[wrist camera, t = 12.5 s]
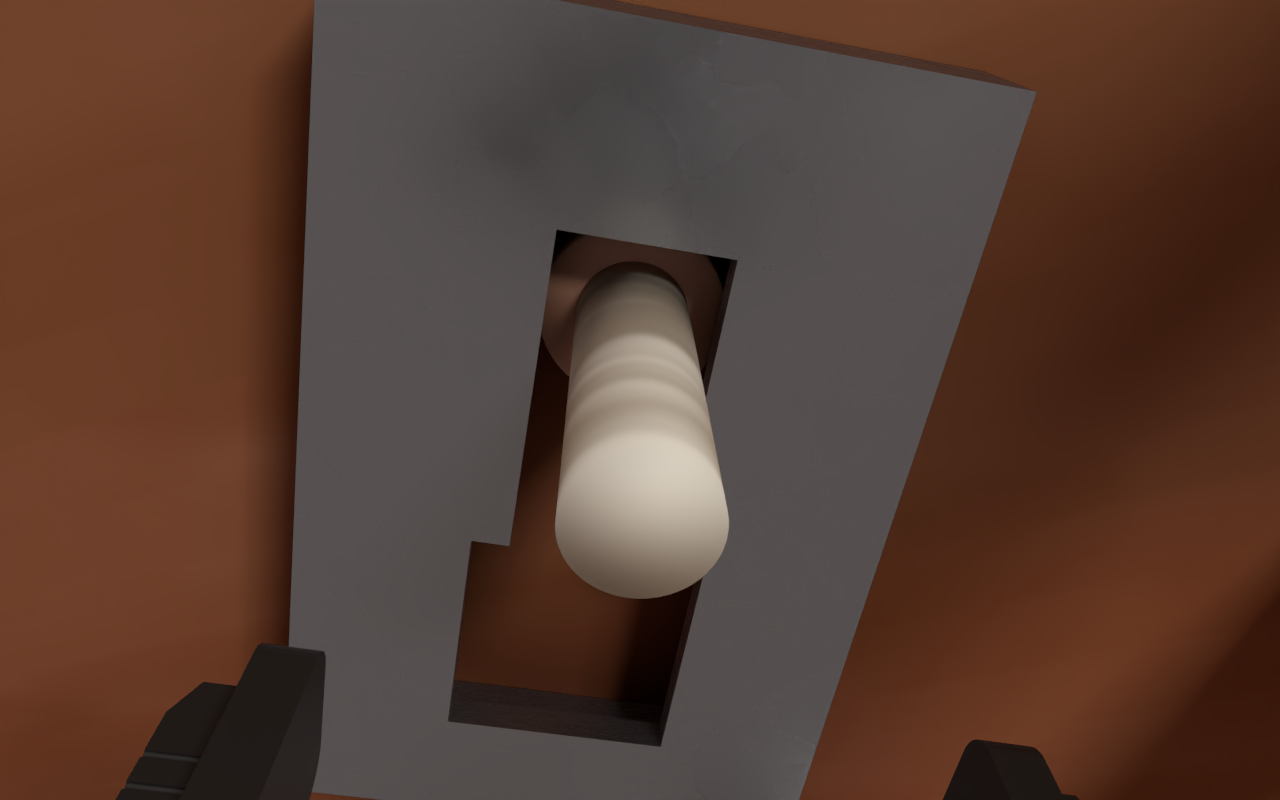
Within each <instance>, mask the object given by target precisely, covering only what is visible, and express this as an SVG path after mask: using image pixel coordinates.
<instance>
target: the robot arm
mask: <svg viewBox="0 0 1280 800" xmlns="http://www.w3.org/2000/svg"><path fill="white" fill-rule="evenodd" d="M325 669H326V656H325V652H324V651H319V650H311V649H304V648H296V647H289V646H281V645H273V644H266V643H261V644H260V645H258V647H257V648H256V650H255V651H254V653H253V655H252V657H251V659H250V661H249V663H248V665H247V667H246V669H245V671H244V673H243V675H242V677H241V679H240V681H239V683H238V685H237V686H231V685H224V684H216V683H208V682H203V683H202V684H200V685H199V686H198V687H197V688H195V689H194V690H193V691H192V692H190V693H189V694H188V695H187V696H185V697H184V698H183V699H182V700H180V701H179V702H178V703H177V704H176V705H174V706H173V707H172V708H171V709H169V710H168V711H167V712H166V713H165V715H164V717H163V719H162V720H161V722H160V724H159V725H158V727H157V729H156V731H155V732H154V734H153V736H152V738H151V739H150V741H149V743H148V745H147V746H146V748H145V751H144V755H143V757H140V758H139V760H138V762H137V764H136V765H135V767H134V769H133V771H132V772H131V774H130V776H129V778H128V779H127V781H126V786H125V788H124V789H122V790H121V791H120V793H119V795H118V797H117V798H116V800H309V799H310V796H311V792H312V789H313V785H314V781H315V777H316V772H317V767H318V762H319V756H320V748H321V735H322V718H323V702H324V685H325ZM943 800H1079V799H1078V798H1077V797H1076V796H1074V795H1066V794H1062V793H1061V791H1060V789H1059V787H1058V785H1057V783H1056V781H1055V779H1054V777H1053V775H1052V773H1051V771H1050V769H1049V767H1048V765H1047V763H1046V761H1045V759H1044V758H1043V756H1042V754H1041V753H1040V752H1039V751H1038V750H1037V749H1035V748H1033V747H1030V746H1022V745H1014V744H1007V743H999V742H992V741H984V740H973V741H971V742H970V743H969V744H968V745H967V746H966V748H965V750H964V752H963V754H962V757H961V759H960V761H959V764H958V766H957V768H956V771H955V773H954V775H953V777H952V780H951V782H950V784H949V787H948V789H947V791H946V794H945V796H944V798H943Z"/></svg>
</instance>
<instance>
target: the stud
mask: <svg viewBox="0 0 1280 800" xmlns="http://www.w3.org/2000/svg"><path fill="white" fill-rule="evenodd" d="M722 296H723V290H722V286H721V282H720V279H719V276H718V272H717V269H716V266H715V264H714V261H713V259H712V257H711V256H710V255H704V254H698V253H692V252H686V251H680V250H674V249H668V248H663V247H657V246H651V245H645V244H639V243H633V242H627V241H621V240H615V239H609V238H603V237H597V236H591V235H585V234H580V233H574V232H570V233H569V234H568V235H567V236H566V237H565V238H564V239H563V240H562V241H561V242H560V244H559V245H558V246H557V248H556V249H555V251H554V253H553V259H552V266H551V272H550V279H549V286H548V293H547V299H546V306H545V313H544V320H543V326H542V333H541V334H542V337H543V340H544V343H545V345H546V347H547V349H548V351H549V353H550V355H551V357H552V358H553V359H554V361H555V362H556V364H557V365H558V366H559V367H560V368H561V369H562V371H563V372H564V373H565V374H566V375H568V376H569V377H570V379H569V389H568V399H567V409H566V419H565V429H564V439H563V449H562V459H561V469H560V479H559V489H558V499H557V509H556V520H555V533H556V539H557V543H558V546H559V549H560V551H561V554H562V556H563V557H564V559H565V561H566V562H567V564H568V565H569V566H570V568H571V569H572V570H573V571H574V572H575V573H576V574H577V575H578V576H579V577H580V578H581V579H583V580H584V581H585V582H587V583H588V584H590V585H591V586H593V587H595V588H597V589H599V590H601V591H603V592H606V593H609V594H612V595H615V596H620V597H625V598H635V599H648V598H656V597H662V596H666V595H670V594H673V593H675V592H678V591H681V590H683V589H685V588H687V587H689V586H691V585H692V584H694V583H695V582H697V581H698V580H700V579H701V578H702V577H703V576H704V575H705V574H707V573H708V571H709V570H710V569H711V568H712V567H713V566H714V565H715V563H716V562H717V560H718V559H719V557H720V555H721V553H722V551H723V549H724V547H725V544H726V541H727V537H728V531H729V517H728V510H727V505H726V499H725V494H724V489H723V484H722V479H721V474H720V469H719V464H718V459H717V453H716V448H715V443H714V438H713V433H712V428H711V423H710V418H709V412H708V407H707V402H706V397H705V392H704V387H703V382H702V377H701V372H700V371H701V370H702V369H703V368H704V367H705V365H706V364H707V362H708V357H709V353H710V349H711V344H712V340H713V335H714V331H715V327H716V322H717V318H718V313H719V309H720V304H721V300H722Z"/></svg>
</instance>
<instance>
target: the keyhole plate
mask: <svg viewBox="0 0 1280 800" xmlns="http://www.w3.org/2000/svg"><path fill="white" fill-rule="evenodd" d="M1036 93H1037V92H1036V91H1034V90H1031V89H1028V88H1026V87H1023V86H1020V85H1018V84H1015V83H1013V82H1010V81H1007V80H1005V79H1002V78H1000V77H997V76H994V75H992V74H989V73H987V72H983V71H978V70H973V69H968V68H962V67H957V66H952V65H947V64H942V63H936V62H931V61H926V60H921V59H916V58H910V57H905V56H900V55H895V54H890V53H884V52H879V51H874V50H869V49H864V48H858V47H853V46H848V45H843V44H838V43H832V42H827V41H822V40H817V39H812V38H806V37H801V36H796V35H791V34H786V33H780V32H775V31H770V30H765V29H760V28H754V27H749V26H744V25H739V24H734V23H728V22H723V21H718V20H713V19H707V18H702V17H697V16H692V15H687V14H681V13H676V12H671V11H666V10H661V9H655V8H650V7H645V6H640V5H635V4H629V3H624V2H619V1H614V0H315V1H314V26H313V52H312V77H311V102H310V127H309V152H308V177H307V202H306V227H305V252H304V277H303V302H302V327H301V352H300V377H299V402H298V427H297V453H296V478H295V503H294V528H293V553H292V578H291V603H290V628H289V647H296V648H304V649H311V650H319V651H324V652H325V656H326V669H325V685H324V702H323V718H322V735H321V748H320V756H319V762H318V767H317V772H316V777H315V781H314V785H313V789H312V792H316V793H325V794H334V795H343V796H352V797H361V798H370V799H379V800H799V798H800V795H801V792H802V789H803V786H804V783H805V780H806V777H807V774H808V771H809V768H810V765H811V762H812V759H813V756H814V753H815V750H816V747H817V745H818V742H819V739H820V736H821V733H822V730H823V727H824V724H825V721H826V718H827V715H828V712H829V709H830V706H831V703H832V700H833V697H834V694H835V691H836V688H837V685H838V682H839V679H840V676H841V673H842V670H843V667H844V664H845V661H846V658H847V655H848V652H849V649H850V646H851V643H852V640H853V637H854V634H855V631H856V628H857V625H858V622H859V619H860V617H861V614H862V611H863V608H864V605H865V602H866V599H867V596H868V593H869V590H870V587H871V584H872V581H873V578H874V575H875V572H876V569H877V566H878V563H879V560H880V557H881V554H882V551H883V548H884V545H885V542H886V539H887V536H888V533H889V530H890V527H891V524H892V521H893V518H894V515H895V512H896V509H897V506H898V503H899V500H900V497H901V494H902V491H903V488H904V486H905V483H906V480H907V477H908V474H909V471H910V468H911V465H912V462H913V459H914V456H915V453H916V450H917V447H918V444H919V441H920V438H921V435H922V432H923V429H924V426H925V423H926V420H927V417H928V414H929V411H930V408H931V405H932V402H933V399H934V396H935V393H936V390H937V387H938V384H939V381H940V378H941V375H942V372H943V369H944V366H945V363H946V360H947V358H948V355H949V352H950V349H951V346H952V343H953V340H954V337H955V334H956V331H957V328H958V325H959V322H960V319H961V316H962V313H963V310H964V307H965V304H966V301H967V298H968V295H969V292H970V289H971V286H972V283H973V280H974V277H975V274H976V271H977V268H978V265H979V262H980V259H981V256H982V253H983V250H984V247H985V244H986V241H987V238H988V235H989V232H990V229H991V227H992V224H993V221H994V218H995V215H996V212H997V209H998V206H999V203H1000V200H1001V197H1002V194H1003V191H1004V188H1005V185H1006V182H1007V179H1008V176H1009V173H1010V170H1011V167H1012V164H1013V161H1014V158H1015V155H1016V152H1017V149H1018V146H1019V143H1020V140H1021V137H1022V134H1023V131H1024V128H1025V125H1026V122H1027V119H1028V116H1029V113H1030V110H1031V107H1032V104H1033V101H1034V99H1035V96H1036ZM557 230H562V231H568V232H574V233H580V234H585V235H591V236H597V237H603V238H609V239H615V240H621V241H627V242H633V243H639V244H645V245H651V246H657V247H663V248H668V249H674V250H680V251H686V252H692V253H698V254H704V255H710V256H716V257H722V258H728V259H731V260H730V265H729V269H728V274H727V278H726V282H725V287H724V291H723V296H722V300H721V304H720V309H719V313H718V318H717V322H716V327H715V331H714V335H713V340H712V344H711V349H710V353H709V357H708V362H707V366H706V371H705V375H704V379H703V387H704V392H705V397H706V402H707V407H708V412H709V418H710V423H711V428H712V433H713V438H714V443H715V448H716V453H717V459H718V464H719V469H720V474H721V479H722V484H723V489H724V494H725V499H726V505H727V510H728V517H729V531H728V537H727V541H726V544H725V547H724V549H723V551H722V553H721V555H720V557H719V559H718V560H717V562H716V563H715V565H714V566H713V567H712V568H711V569H710V570H709V571H708V573H707V574H705V575H704V576H703V577H702V578H701V579H700V580H698V581H697V582H695V583H694V584H693V588H692V592H691V596H690V600H689V604H688V608H687V612H686V616H685V621H684V625H683V629H682V633H681V637H680V641H679V645H678V649H677V653H676V657H675V661H674V665H673V669H672V674H671V678H670V682H669V686H668V690H667V694H666V698H665V702H664V706H659V705H651V704H643V703H634V702H626V701H618V700H610V699H602V698H594V697H586V696H578V695H570V694H561V693H553V692H545V691H537V690H529V689H521V688H513V687H505V686H497V685H488V684H480V683H472V682H464V681H456V680H455V677H456V669H457V661H458V653H459V646H460V638H461V630H462V623H463V615H464V607H465V600H466V592H467V584H468V576H469V569H470V561H471V553H472V546H473V541H476V542H483V543H491V544H498V545H505V546H510V540H511V534H512V528H513V521H514V515H515V508H516V501H517V495H518V488H519V481H520V474H521V468H522V461H523V454H524V447H525V441H526V434H527V427H528V421H529V414H530V407H531V400H532V394H533V387H534V380H535V373H536V367H537V360H538V353H539V346H540V340H541V333H542V326H543V320H544V313H545V306H546V299H547V293H548V286H549V279H550V272H551V266H552V259H553V252H554V245H555V239H556V232H557Z"/></svg>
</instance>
